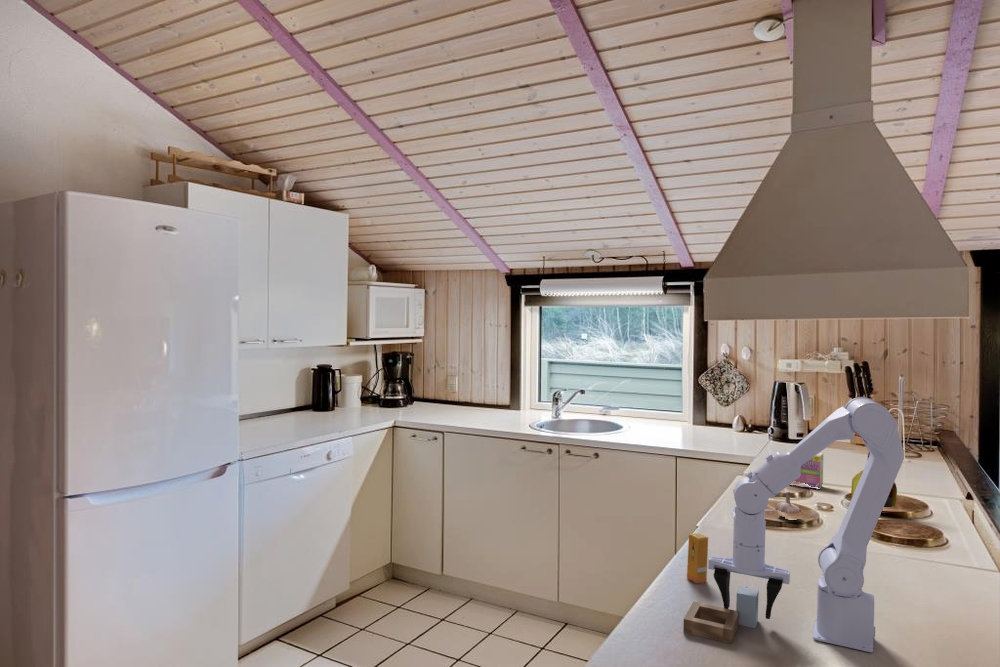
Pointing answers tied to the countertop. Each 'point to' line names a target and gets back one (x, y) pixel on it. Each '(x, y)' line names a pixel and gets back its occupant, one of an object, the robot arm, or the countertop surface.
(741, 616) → the peg
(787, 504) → the garlic bulb
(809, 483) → the box
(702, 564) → the supplement box
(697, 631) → the walnut holder
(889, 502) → the bottle
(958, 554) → the countertop surface
